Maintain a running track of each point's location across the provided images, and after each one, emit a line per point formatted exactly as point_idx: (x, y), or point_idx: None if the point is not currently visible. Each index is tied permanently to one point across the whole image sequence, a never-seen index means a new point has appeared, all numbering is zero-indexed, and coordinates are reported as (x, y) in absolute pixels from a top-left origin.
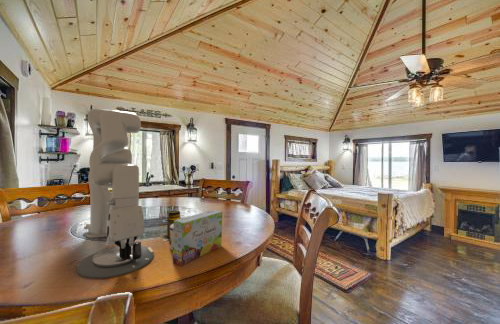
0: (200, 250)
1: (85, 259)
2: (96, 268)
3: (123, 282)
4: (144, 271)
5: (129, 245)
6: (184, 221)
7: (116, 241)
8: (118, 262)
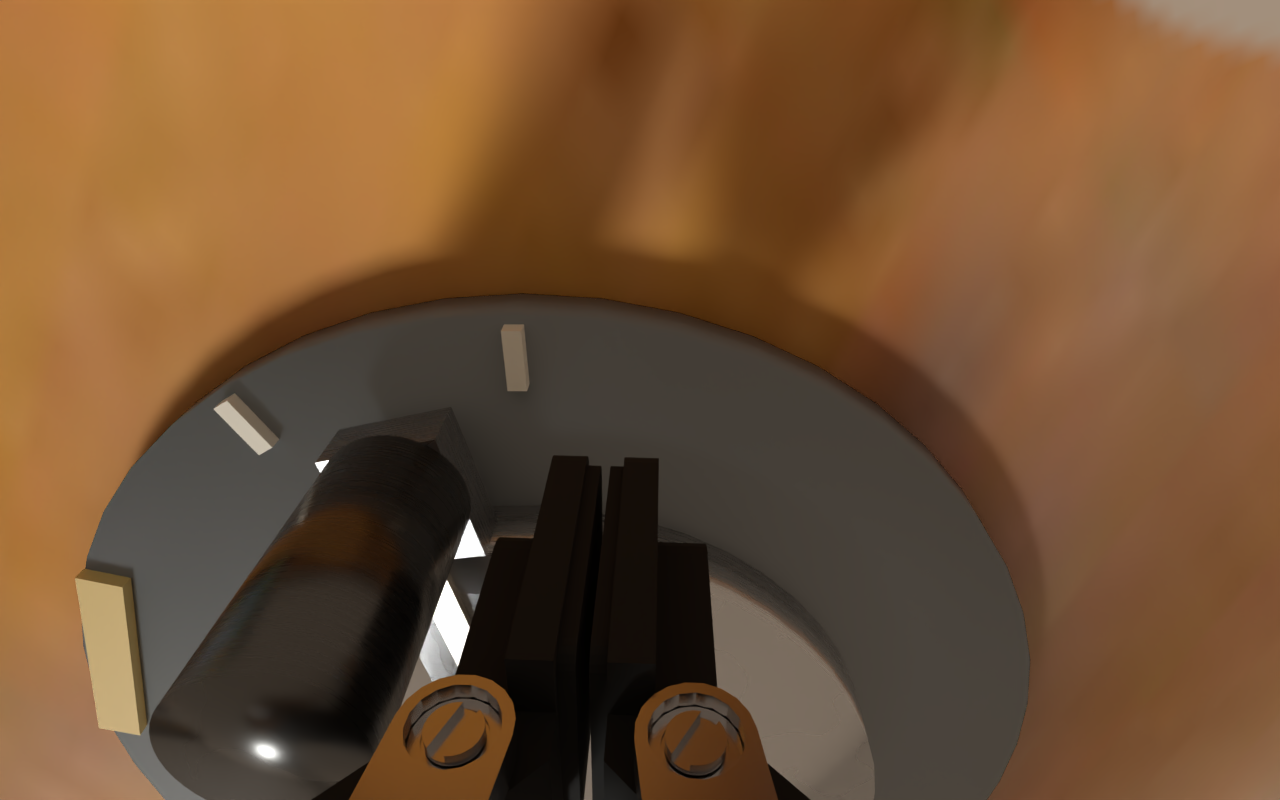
0: None
1: None
2: (872, 675)
3: (828, 51)
4: (410, 133)
5: (512, 707)
6: None
7: None
8: None
